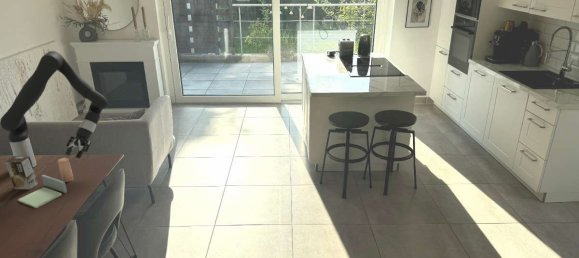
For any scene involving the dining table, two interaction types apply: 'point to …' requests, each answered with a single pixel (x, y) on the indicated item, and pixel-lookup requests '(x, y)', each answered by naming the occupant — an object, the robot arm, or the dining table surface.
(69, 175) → the peach rounded cylinder
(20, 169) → the coffee box
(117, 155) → the dining table surface
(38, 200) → the pad
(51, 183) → the low wall
